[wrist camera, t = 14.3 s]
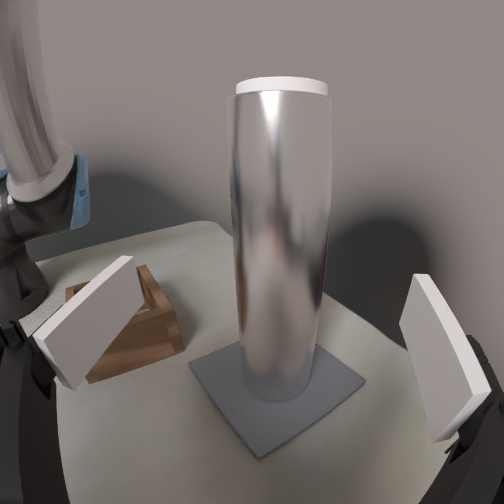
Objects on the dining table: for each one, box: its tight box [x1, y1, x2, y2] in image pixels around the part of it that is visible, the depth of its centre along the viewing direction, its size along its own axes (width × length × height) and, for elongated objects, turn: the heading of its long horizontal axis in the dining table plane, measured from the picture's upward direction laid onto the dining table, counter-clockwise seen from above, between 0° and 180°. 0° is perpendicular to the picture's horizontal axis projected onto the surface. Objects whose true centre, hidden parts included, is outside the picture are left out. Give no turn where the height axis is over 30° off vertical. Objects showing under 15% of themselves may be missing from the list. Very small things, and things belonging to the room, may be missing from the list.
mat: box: [188, 341, 366, 459], centre depth 25 cm, size 13×13×1 cm
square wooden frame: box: [66, 265, 184, 384], centre depth 30 cm, size 12×12×6 cm
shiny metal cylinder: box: [226, 76, 333, 402], centre depth 20 cm, size 6×6×25 cm
